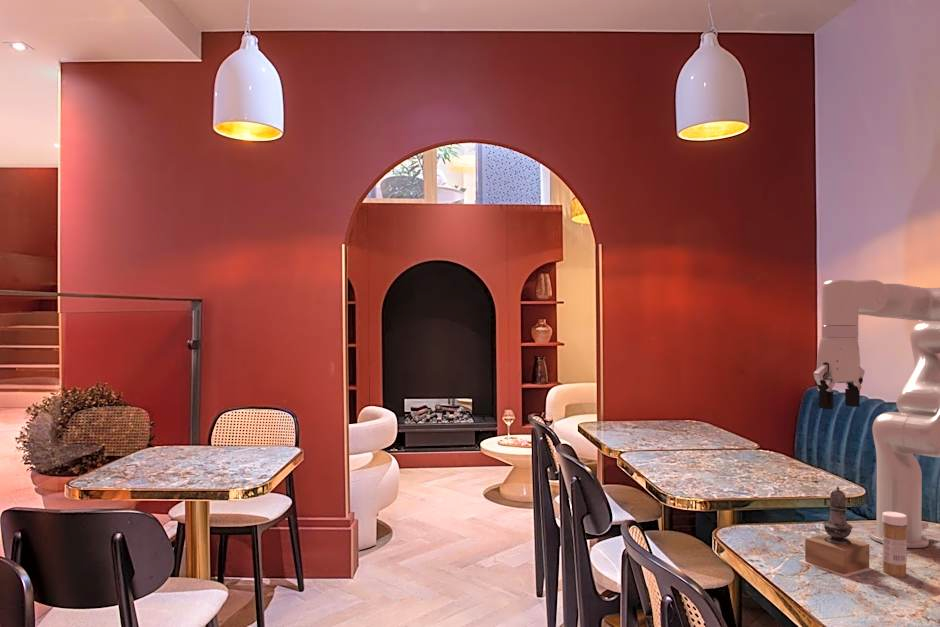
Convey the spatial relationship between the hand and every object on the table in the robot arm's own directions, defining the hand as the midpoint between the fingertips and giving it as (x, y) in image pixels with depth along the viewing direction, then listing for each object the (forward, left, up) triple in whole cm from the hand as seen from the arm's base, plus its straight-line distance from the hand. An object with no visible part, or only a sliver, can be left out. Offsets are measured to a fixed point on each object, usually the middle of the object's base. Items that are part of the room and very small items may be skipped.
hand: (839, 407), depth 163 cm
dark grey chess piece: (+8, +5, -29) cm, 30 cm away
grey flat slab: (+9, +5, -34) cm, 36 cm away
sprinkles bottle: (+2, +14, -34) cm, 37 cm away
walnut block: (+8, +5, -33) cm, 35 cm away
